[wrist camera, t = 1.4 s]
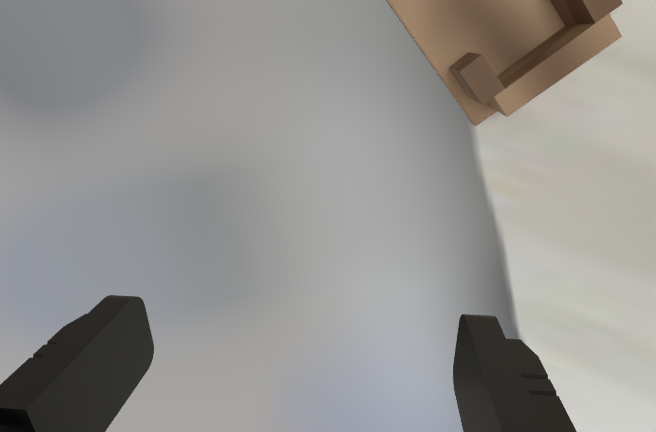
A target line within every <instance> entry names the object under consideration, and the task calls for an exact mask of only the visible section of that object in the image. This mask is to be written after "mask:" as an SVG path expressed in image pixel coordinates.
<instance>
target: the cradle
mask: <svg viewBox="0 0 656 432" xmlns="http://www.w3.org/2000/svg"><path fill="white" fill-rule="evenodd" d="M386 1H387V2H388V4H389V5H390V7H391V8H392V9H393V11H394V12H395V14H396V15H397V17H398V18H399V19H400V21H401V22H402V24H403V25H404V26H405V28H406V29H407V31H408V32H409V34H410V35H411V36H412V38H413V39H414V41H415V42H416V44H417V45H418V46H419V48H420V49H421V51H422V52H423V54H424V55H425V56H426V58H427V59H428V61H429V62H430V63H431V65H432V66H433V68H434V69H435V71H436V72H437V73H438V75H439V76H440V78H441V79H442V80H443V82H444V83H445V85H446V86H447V88H448V89H449V91H450V92H451V93H452V95H453V96H454V98H455V99H456V101H457V102H458V103H459V105H460V106H461V108H462V109H463V110H464V112H465V113H466V115H467V116H468V118H469V119H470V120H471V122H472V123H473V124H474V125H475V126H477V125H478V124H479V123H481V122H482V121H484V120H485V119H486V118H488V117H489V116H491V115H492V114H493V113H495V112H496V111H498V112H500V113H502V114H503V115H505V116H507V117H508V116H509V115H510V114H512V113H513V112H515V111H516V110H518V109H519V108H520V107H522V106H523V105H525V104H526V103H528V102H529V101H530V100H532V99H533V98H535V97H536V96H538V95H539V94H540V93H542V92H543V91H545V90H546V89H548V88H549V87H550V86H552V85H553V84H555V83H556V82H558V81H559V80H560V79H562V78H563V77H565V76H566V75H568V74H569V73H570V72H572V71H573V70H575V69H576V68H578V67H579V66H580V65H582V64H583V63H585V62H586V61H588V60H589V59H590V58H592V57H593V56H595V55H596V54H598V53H599V52H600V51H602V50H603V49H605V48H606V47H608V46H609V45H610V44H612V43H613V42H615V41H616V40H618V39H619V38H620V37H622V36H621V34H620V32H619V30H618V29H617V27H616V25H615V23H614V21H613V20H612V18H611V16H610V14H609V13H610V12H612V11H613V10H614V9H616V8H617V7H619V6H620V5H621V4H623V3H622V1H621V0H386Z"/></svg>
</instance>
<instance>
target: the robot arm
mask: <svg viewBox="0 0 656 432" xmlns="http://www.w3.org/2000/svg"><path fill="white" fill-rule="evenodd" d="M153 353H154V344H153V340H152V335H151V331H150V327H149V322H148V318H147V313H146V309H145V305H144V302H143V300H142V299H141V298H140V297H133V296H114V295H110V296H107V297H105V298H104V299H103V300H102V301H101V302H100V303H99V304H98V305H97V306H95V307H94V308H93V309H92V310H91V311H90V312H89V313H88V314H85V315H83V316H81V317H80V318H78V319H76V320H74V321H73V322H71V323H69V324H67V325H66V326H64V327H63V328H62V329H61V330H60V331H58V332H57V333H56V334H55V335H54V336H53V337H52V338H51V339H50V340H49V341H48V343H47V345H43V346H42V347H41V348H40V349H39V350H38V351H37V352H36V353H34V356H33V358H29V359H28V360H27V361H26V362H25V363H24V364H22V365H21V366H20V367H19V368H18V369H17V370H16V371H15V372H14V373H13V374H12V375H10V376H9V377H8V378H7V379H6V380H5V381H4V382H3V383H2V384H1V385H0V432H105V431H106V429H107V428H108V427H109V425H110V424H111V422H112V421H113V419H114V418H115V416H116V415H117V414H118V412H119V411H120V409H121V408H122V406H123V405H124V404H125V402H126V400H127V399H128V398H129V396H130V395H131V393H132V392H133V391H134V389H135V388H136V386H137V385H138V383H139V382H140V380H141V379H142V378H143V376H144V375H145V373H146V372H147V370H148V369H149V367H150V364H151V362H152V359H153ZM453 382H454V390H455V395H456V400H457V404H458V409H459V413H460V417H461V422H462V427H463V431H464V432H577V431H576V430H575V428H574V426H573V424H572V422H571V420H570V418H569V416H568V414H567V412H566V410H565V408H564V406H563V404H562V402H561V400H560V398H559V396H557V395H556V390H555V389H554V387H553V385H552V383H551V381H550V379H548V375H547V373H546V371H545V369H544V367H543V365H542V363H541V361H540V359H539V357H538V356H537V355H536V354H535V353H534V352H533V351H532V350H531V349H530V348H529V347H527V346H526V345H525V344H524V343H523V342H522V341H521V340H518V339H517V340H516V339H506V338H505V336H504V334H503V331H502V329H501V327H500V324H499V322H498V320H497V318H496V317H495V316H486V315H485V316H483V315H466V314H462V315H461V317H460V321H459V328H458V335H457V342H456V350H455V357H454V365H453Z"/></svg>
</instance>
